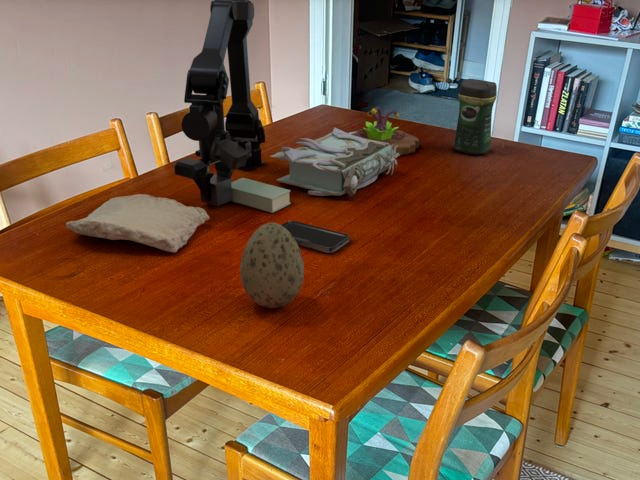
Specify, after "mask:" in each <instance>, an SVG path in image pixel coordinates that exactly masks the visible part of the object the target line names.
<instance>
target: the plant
mask: <svg viewBox="0 0 640 480" xmlns="http://www.w3.org/2000/svg"><path fill="white" fill-rule="evenodd" d="M377 112H378V114H377ZM391 114H394V118H396V119H398V118H399V117H400V114H399V112H398V111H395V110H390V111H388V112H387V113H386V114H385V115H384V117H383V113H382V109H381V108H380V107H379V106H375V107H373V108H372V109H371V110H369V111H368V112H367V117H369V118H371V117H372V116H374V118H375V119H376V120H375V121H373V123H372V122H370V121H365V126H366V128H365V127H362V129H360V128H357V129H356V130H354V131H352V132H357V133H353V134H351V135H354V136H357V137H361V138H364V139H369V140H374V141H379V142H385V143H388V144H390V145H391V146H392V144H393V146H392V149H393V150H394V148H395V146H396V145H398V146H397V148H396V153H399V155H400V156H404V155H405V156H407V155H410V154H412V153H415V152H416V149H419V147H420V140H419V138H418V137H416V136H414V135H411V134H409V133H407V132H404V131H403V130H398V129H399V128H400V127H399V126H395V127H394V126H393V127H392V124H393V122H390V121H389V120H388V119H389V116H390V115H391ZM347 133H348V134H349V133H350V132H347ZM396 153H395V154H396ZM395 154H394V155H395Z"/></svg>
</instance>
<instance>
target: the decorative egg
mask: <svg viewBox="0 0 640 480" xmlns="http://www.w3.org/2000/svg"><path fill="white" fill-rule="evenodd" d="M281 225H282V224H279V223H277V222H266V223H264V224H263V225H261V226H258V228H257V229H256V230H255V231H254V232H253V233H252V235H251V236H250V237H249V239H248V241H247V242H246V244H245V247H244V249H243V251H242V255H241V259H240V266H239V267H240V268H239V274H240V281H241V285H242V287H243V290H244V291H245V293H246V295H247V296H248V297H249V298H250V299H251V300H252V302H254V303H255V304H257V305H258V306H261V307H263V308H267V309H277V308H281V307H285V306H286V305H288V304H290V303H291V302H292V301H294V299H295V298H296V297H297V296H298V294H299V293H300V290H301V289H302V287H303V283H304V280H305V279H304V278H305V264H304V259H303V255H302V252H301V249H300V247H299V246H300V245H298V244H297V242H296V241H295V239H294V237H293V236H292V235H291V234H290V232H289V231H288V230H287V229H286V228H284V227H283V226H281Z"/></svg>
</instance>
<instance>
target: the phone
mask: <svg viewBox="0 0 640 480" xmlns="http://www.w3.org/2000/svg"><path fill="white" fill-rule="evenodd" d="M280 225H281V226H283V227H284V228H286V229H287V230H288V231H289V232H290V234H291V235H292V236H293V237H294V239H295V241H296V242H297V244H298V246H301V247H304V248H307V249H311V250H314V251H318V252H322V253H326V254H334V253H335V252H337V251H339V250H340V249H341V248H343V247H344V246H345V245H347V244H349V243H350V235H349V234H347V233H343V232H339V231H335V230H332V229H328V228H324V227H319V226H316V225H311V224H307V223H304V222H300V221H296V220H287V221H286V222H284V223H282V224H280Z"/></svg>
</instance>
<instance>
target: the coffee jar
mask: <svg viewBox="0 0 640 480" xmlns="http://www.w3.org/2000/svg"><path fill="white" fill-rule="evenodd" d="M497 89H498V88H497V83H496V82H494V81H489V80H484V79H479V78H478V79H477V78H467V79H464V80H462V81H461V84H460V86H459V90H458V101H459V110H458V118H457V123H456V128H455V129H456V130H455V135H454V141H453V149H454V151H456V152H459V153H464V154H467V155H476V156H477V155H485V154H488V152H490V150H491V144H492V143H491V142H492V116H493V109H494V105H495V102H496V101H497V97H498V95H497V93H498V91H497Z"/></svg>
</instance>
